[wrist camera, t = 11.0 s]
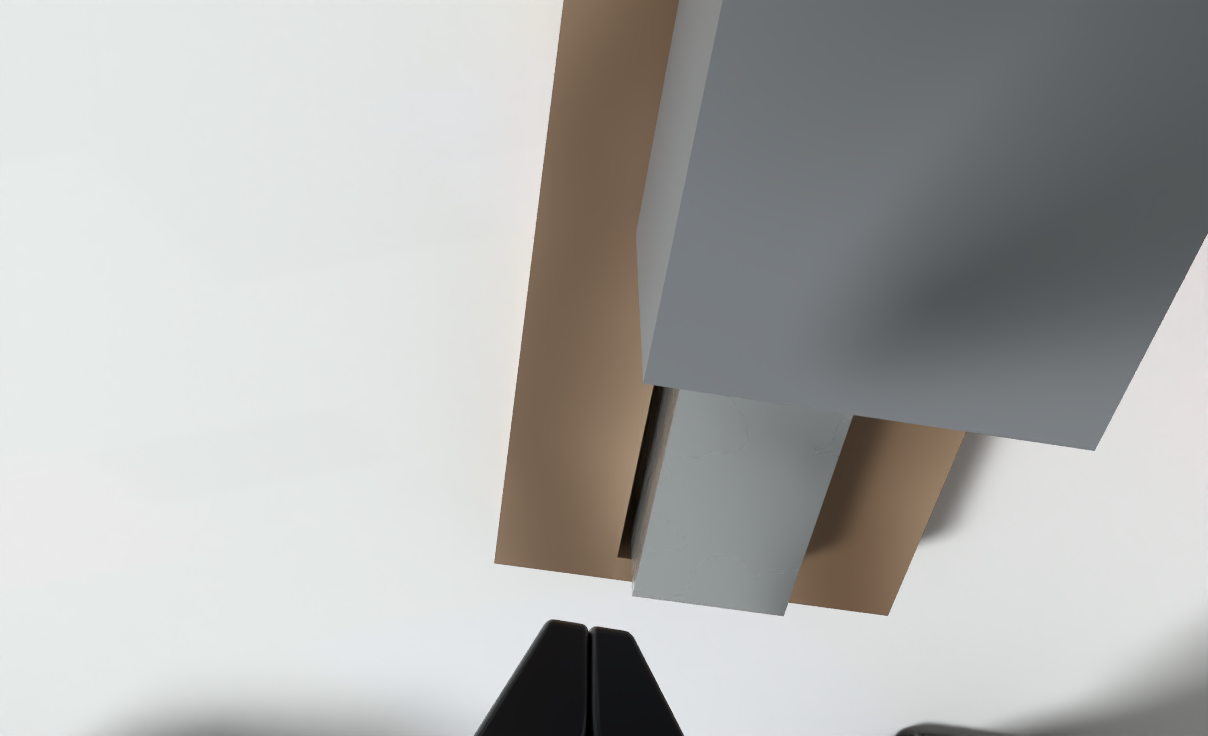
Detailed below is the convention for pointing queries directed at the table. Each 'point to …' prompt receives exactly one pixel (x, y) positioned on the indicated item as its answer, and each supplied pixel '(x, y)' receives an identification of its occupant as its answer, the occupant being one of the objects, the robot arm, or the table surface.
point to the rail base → (614, 356)
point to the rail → (729, 498)
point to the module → (924, 205)
